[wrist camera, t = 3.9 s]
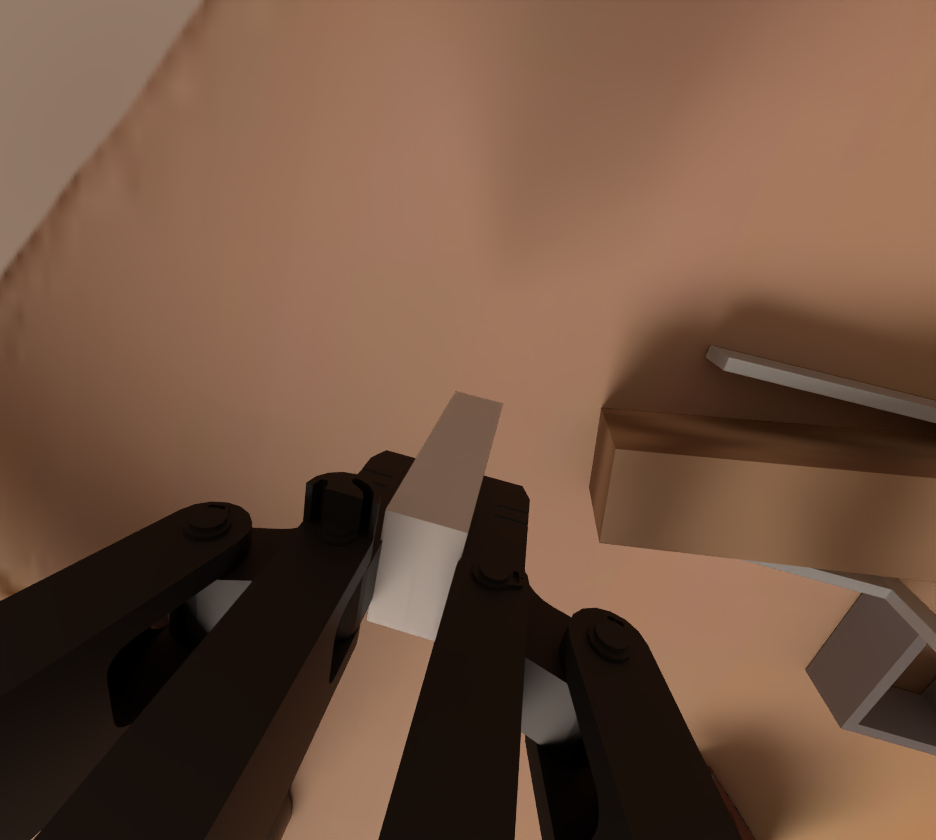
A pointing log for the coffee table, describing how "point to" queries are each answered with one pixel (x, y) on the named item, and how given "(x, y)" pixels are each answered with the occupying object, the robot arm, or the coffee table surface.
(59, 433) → the coffee table surface
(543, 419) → the coffee table surface
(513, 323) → the coffee table surface
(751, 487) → the rod
